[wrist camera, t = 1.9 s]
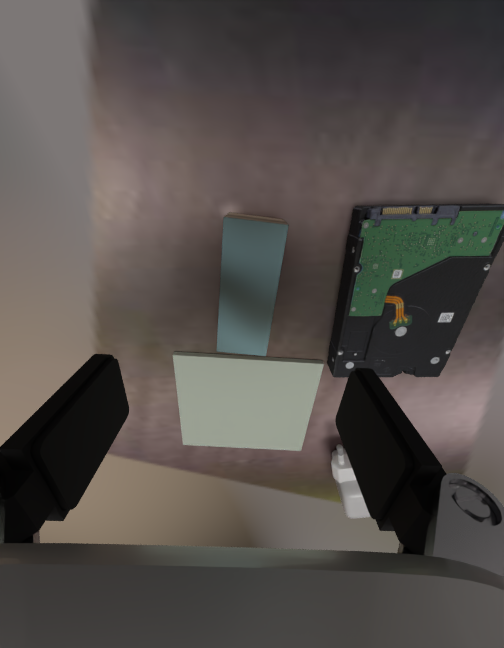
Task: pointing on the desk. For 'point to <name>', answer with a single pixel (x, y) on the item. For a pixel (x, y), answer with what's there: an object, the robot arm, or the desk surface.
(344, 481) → the power adapter
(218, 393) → the mat
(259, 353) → the teal-faced wooden block
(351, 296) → the disk drive
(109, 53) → the desk surface
